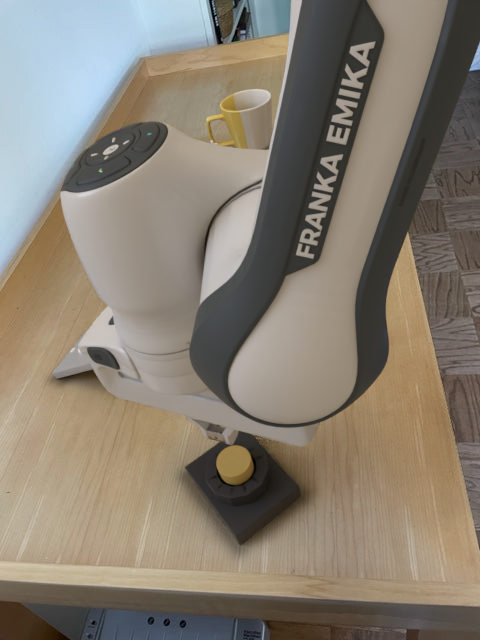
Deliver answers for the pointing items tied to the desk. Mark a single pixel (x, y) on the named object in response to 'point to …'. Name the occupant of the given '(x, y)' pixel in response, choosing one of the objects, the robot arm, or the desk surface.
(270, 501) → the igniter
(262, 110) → the mug
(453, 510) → the desk surface
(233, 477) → the button
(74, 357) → the light switch
